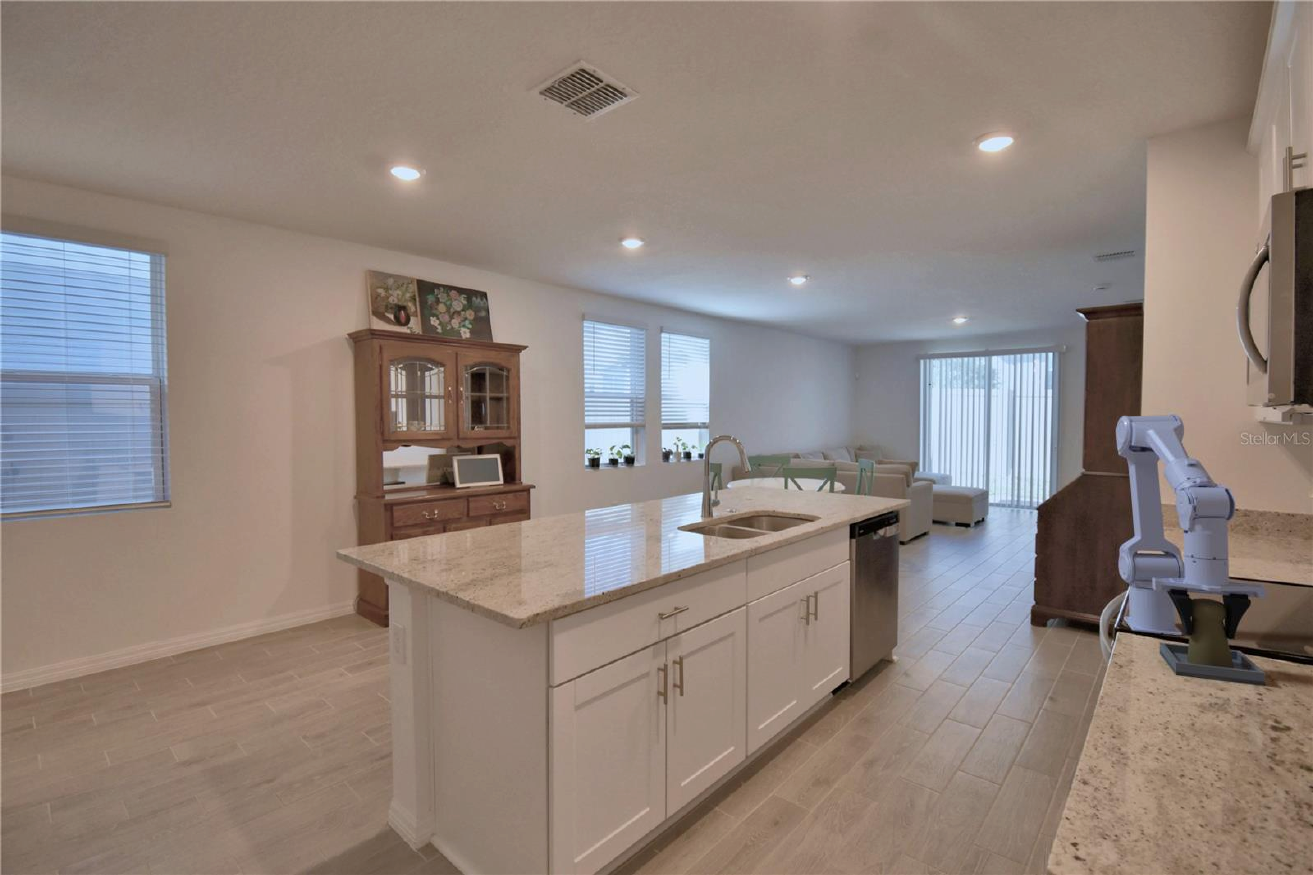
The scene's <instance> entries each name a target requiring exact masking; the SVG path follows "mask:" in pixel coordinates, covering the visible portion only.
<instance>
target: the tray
mask: <svg viewBox="0 0 1313 875" xmlns="http://www.w3.org/2000/svg"><path fill="white" fill-rule="evenodd" d="M1188 647H1189V644H1187V645H1186V644H1179V643H1178V644H1177V643H1169V642H1168V643H1167V642H1159V654H1160V656H1161V657H1162V658H1163V659H1164V661H1165V662H1166V664H1167V665H1168V666H1169V668H1170V669H1171V670H1172V671H1173V673H1174V674H1175V675H1176V676H1185V677H1192V678H1199V679H1206V680H1216V681H1224V682H1233V683H1240V684H1248V685H1256V686H1257V685H1258V686H1265V687H1266V672H1265V671H1264V670H1263V669H1261V668H1260V667H1259V666H1257V665H1256V664H1255V663H1254V662H1253V661H1252V660H1251V659H1250V658H1248V657H1247V656H1246V655H1245V654H1244V652H1242V651H1241V650H1235V649H1230V652H1231V657H1232V661H1233V665H1234V668H1225V667H1216V666H1208V665H1199V664H1191V663H1189V662H1188V661H1187V656H1188Z"/></svg>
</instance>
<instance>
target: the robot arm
mask: <svg viewBox="0 0 1313 875" xmlns="http://www.w3.org/2000/svg"><path fill="white" fill-rule="evenodd" d="M1116 424H1117V425H1116V428H1115V435H1116V436H1115V439H1116V448H1117V452H1118V456H1121V457H1122V458H1125V459H1126V460H1127V464H1128V465H1127V466H1128V473H1129V484H1130V487H1129V488H1130V495H1131V507H1132V510H1131V511H1132V520H1133V530H1134V532H1133V533H1134V536H1133V537H1132V538H1130V539H1129V540H1127V541H1126V542H1124V543H1122V544H1121V546H1120V548H1119V557H1118V563H1117V564H1118V572H1119V575H1120V577H1121V579H1122V580H1123V581H1124V582H1125V583H1128V584H1129V589H1128V606H1129V607H1128V608H1129V610H1128V612H1129V616H1124V617H1123V619H1124V620H1125V622H1126V624H1127V625H1128V626H1129V628H1130V629H1131V631H1133V632H1141V633H1153V634H1161V633H1163V634H1162V635H1171V634H1172V636H1173V635H1175V636H1182V635H1183V633H1184V634H1185V635H1186V636H1190V635H1191V636H1192V624H1191V619H1192V617H1191V605H1192V599H1193V598H1191V597H1190V594H1189V593H1193V594H1207V595H1221V596H1222V603H1223V604H1224V606H1225V607H1226V609H1227V616H1226V618H1225V619H1224V627H1225V631H1226V635H1227V640H1235V637H1236V634H1237V629H1238V627H1239V624H1240V622H1241V621H1242V620H1241V619H1243V617H1244V615H1245V614H1246V612H1247V610H1249V608H1250V607H1251V605H1252V600H1251V599H1250V598H1256V599H1260V600H1261V599H1262V600H1263V599H1264V600H1265V599H1267V598H1266V597H1267V596H1266V595H1267V594H1266V592H1267V591H1266V587H1265V586H1264V585H1262V584H1257V583H1256V584H1255V583H1246V582H1245V583H1244V582H1237V581H1236V582H1235V581H1230V570H1229V568H1230V566H1229V564H1230V561H1229V534H1228V532H1229V531H1228V521H1231V520H1232V519H1233V517H1234V515H1235V513H1236V501H1235V500H1236V499H1235V497H1234V495H1233V492H1232V491H1231V489H1230V488H1229V487H1228V486H1225V485H1222V484H1221V483H1215V482H1214V479H1213V478H1212V477H1211V476H1210V475H1209V473H1208V471H1207V470H1206V468H1205V467H1204V465H1203V464H1202V463H1201V461H1199V460H1197V459H1196V458H1191V457H1189V454H1188V453H1187V451H1186V449H1185V445H1184V444H1183V438H1184V434H1185V426H1184V422H1183V420H1182V418H1181V417H1180V416H1179V415H1177V414H1176V413H1175V414H1167V415H1165V414H1164V415H1141V416H1140V415H1136V416H1135V415H1134V416H1131V415H1129V416H1128V415H1122V416H1121V417H1120V418H1119V420H1118V421H1117V423H1116ZM1160 460H1161V462H1162V463H1163V464H1164V465H1165V468H1164V469H1163V477H1164V478H1165V479H1166V481H1167V483H1168V484H1169V486H1170V488H1171V489H1172V491H1173V492H1174V494H1175V497H1176V498H1175V508H1176V509H1175V510H1176V512H1177V516H1178V520H1179V522H1178V523H1179V526H1180V529H1182V532H1183V556H1182V551H1181V550H1180V547H1178V545H1176V544H1174V543H1173V542H1171V541H1169V540H1168V539H1167V538H1165V532H1164V521H1163V519H1164V518H1163V511H1162V510H1163V508H1162V499H1161V487H1160V477H1159V466H1158V465H1159V464H1158V462H1160ZM1141 551H1142V552H1141ZM1144 552H1145V553H1144ZM1147 552H1149V553H1147ZM1151 552H1160V553H1151ZM1161 552H1162V553H1161ZM1183 559H1184V560H1183ZM1249 597H1250V598H1249ZM1175 610H1176V611H1177V613H1178V616H1179V618H1180V622H1181V626H1182V630H1183V633H1182V632H1181V630H1180V629H1179V628H1178V627H1177V626H1176V611H1175Z"/></svg>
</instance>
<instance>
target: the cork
mask: <svg viewBox="0 0 1313 875" xmlns="http://www.w3.org/2000/svg"><path fill="white" fill-rule="evenodd" d="M1191 599H1192V605H1191V624H1192V636H1191V635H1189V638H1188V639H1189V640H1188V646H1189V647H1188V656H1187V661H1188V662H1189V663H1191V664H1199V665H1208V666H1216V667H1225V668H1234V665H1233V661H1232V657H1231V652H1230V650H1231V648H1230V645H1229V639H1228V638H1227V635H1226V631H1225V627H1224V624H1225V618H1226V616H1227V609H1226V607H1225V606H1224V604H1223V602H1221V601H1219V600H1215V599H1211V598H1202V597H1200V598H1191Z"/></svg>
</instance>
